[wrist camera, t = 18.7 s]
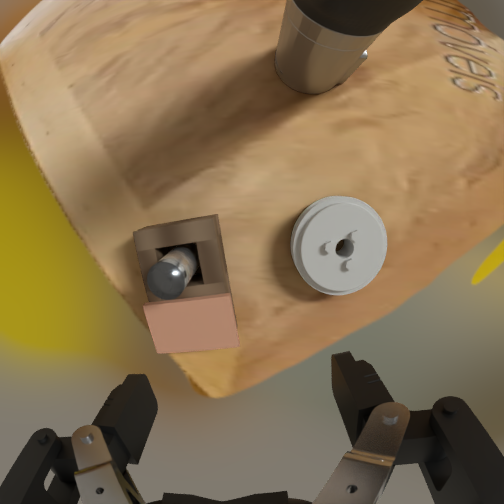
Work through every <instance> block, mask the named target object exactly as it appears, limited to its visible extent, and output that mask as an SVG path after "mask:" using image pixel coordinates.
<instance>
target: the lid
mask: <svg viewBox="0 0 504 504" xmlns="http://www.w3.org/2000/svg"><path fill="white" fill-rule="evenodd" d="M342 239H344V245H343V247H342V248H341V249H340V250H339V251H335V249H336V245H337V243H338V242H339V241H340V240H342ZM386 251H387V235H386V230H385V227H384V224H383V222H382V220H381V218H380V217H379V215H378V214H377V212H376V211H375V210H374V209H373V208H372V207H370V206H369V205H368V204H366V203H365V202H363V201H361V200H358V199H356V198H352V197H344V196H330V197H326V198H322V199H320V200H318V201H316V202H314V203H313V204H311V205H310V206H308V207H307V208H306V209H305V210H304V211H303V212H302V214H301V215H300V216H299V218H298V219H297V221H296V223H295V225H294V228H293V231H292V235H291V255H292V258H293V261H294V264H295V266H296V268H297V269H298V271H299V273H300V275H301V276H302V278H303V279H304V280H305V281H306V282H307V283H308V284H309V285H310V286H311V287H313V288H314V289H316V290H318V291H320V292H322V293H325V294H330V295H345V294H350V293H353V292H355V291H358V290H360V289H361V288H363V287H364V286H366V285H367V284H368V283H370V282H371V281H372V280H373V279H374V277H375V276H376V275H377V274H378V272H379V270H380V269H381V267H382V265H383V262H384V260H385V256H386Z"/></svg>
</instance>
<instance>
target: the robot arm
mask: <svg viewBox="0 0 504 504" xmlns="http://www.w3.org/2000/svg"><path fill="white" fill-rule="evenodd" d="M421 1H423V0H287V1H286V6H285V11H284V16H283V20H282V25H281V30H280V35H279V40H278V45H277V49H276V54H275V68H276V71H277V73H278V75H279V77H280V78H281V80H282V81H283V82H284V83H285V84H287V85H288V86H289V87H290V88H292V89H294V90H296V91H299V92H302V93H307V94H319V93H323V92H326V91H328V90H330V89H331V88H332V87H333V86H335V85H336V84H339V83H344V82H345V81H346V80H347V79H348V78H349V77H350V76H351V75H352V74H353V73H354V71H355V70H356V69H357V68H358V67H359V66H360V65H361V64H362V63H363V62H364V61H365V60H366V59H367V57H368V55H367V51H366V50H367V48H368V47H369V46H370V45H371V44H372V43H373V42H374V41H375V39H376V38H377V37H378V36H379V35H380V34H381V33H382V32H383V31H384V30H385V29H386V28H387V27H388V26H389V25H390V24H391V23H392V22H394V21H395V20H397V19H398V18H400V17H402V16H403V15H405V14H406V13H408V12H409V11H411V10H412V9H413V8H415V7H416V6H417V5H418V4H419V3H420V2H421ZM331 358H332V359H331V364H332V365H331V366H332V390H333V395H334V398H335V400H336V403H337V406H338V408H339V411H340V414H341V416H342V419H343V422H344V425H345V428H346V430H347V433H348V436H349V438H350V441H351V444H352V447H353V449H352V450H351V452H346V453H345V455H344V456H343V458H342V459H341V461H340V463H339V464H338V466H337V467H336V469H335V470H334V472H333V474H332V475H331V477H330V478H329V480H328V481H327V483H326V484H325V486H324V487H323V489H322V490H321V491H320V493H319V494H318V496H317V497H316V499H315V500H314V501H313V503H312V502H309V501H305V500H300V499H292V498H288V494H287V491H282V492H273V493H263V494H254V495H250V496H246V497H242V498H237V499H233V500H228V501H216V500H212V499H208V498H203V497H199V496H195V495H187V494H174V493H164V494H163V499H162V500H159V501H154V502H150V503H147V504H378V502H379V500H380V498H381V496H382V494H383V492H384V490H385V487H386V485H387V483H388V481H389V479H390V476H391V474H392V472H393V469H394V467H395V465H402V464H413V463H418V464H419V467H420V469H421V471H422V473H423V476H424V478H425V481H426V483H427V485H428V488H429V490H430V493H431V495H432V498H433V500H434V503H435V504H504V456H503V455H502V453H501V452H500V450H499V449H498V447H497V446H496V444H495V443H494V442H493V440H492V439H491V437H490V436H489V434H488V433H487V431H486V430H485V429H484V427H483V426H482V424H481V423H480V421H479V420H478V419H477V417H476V416H475V415H474V413H473V412H472V411H471V409H470V408H469V406H468V405H467V404H466V403H465V402H464V401H463V400H462V399H460V398H458V397H453V396H448V397H444V398H441V399H439V400H438V401H436V402H435V404H434V405H433V408H432V409H431V410H421V411H409V410H408V408H407V407H406V406H404V405H403V404H400V403H396V402H394V400H393V398H392V397H391V395H390V394H389V392H388V390H387V389H386V387H385V385H384V384H383V382H382V381H381V380H380V377H379V376H378V374H377V373H376V371H375V369H374V368H373V366H372V365H371V364H369V363H367V362H366V361H364V360H360V361H355V360H354V358H353V356H352V355H351V353H350V351H347V352H343V353H338V354H333V355H332V357H331ZM157 410H158V405H157V400H156V398H155V395H154V393H153V390H152V388H151V385H150V383H149V380H148V378H147V376H146V375H145V374H129V375H128V376H127V377H126V379H125V381H124V382H123V384H122V385H119V386H117V387H116V388H115V389H114V390H113V391H111V393H110V395H109V396H108V399H107V400H106V401H105V403H104V406H102V408H101V409H100V411H99V413H98V415H97V416H96V418H95V419H94V421H93V423H92V425H85V426H82V427H80V428H78V429H77V430H76V431H75V432H74V433H73V434H72V437H58V436H57V435H56V433H55V432H54V431H53V430H52V429H49V428H43V429H40V430H38V431H36V432H35V433H34V434H33V435H32V436H31V438H30V439H29V441H28V443H27V444H26V445H25V447H24V449H23V450H22V452H21V453H20V455H19V456H18V458H17V460H16V461H15V463H14V464H13V466H12V468H11V469H10V471H9V473H8V474H7V476H6V478H5V480H4V481H3V483H2V485H1V486H0V504H77V503H78V501H79V498H80V496H81V499H82V503H83V504H146V503H145V501H144V500H143V498H142V496H141V494H140V493H139V491H138V489H137V487H136V485H135V483H134V481H133V480H132V478H131V476H130V474H129V472H128V470H127V469H126V466H127V464H128V463H130V464H138V463H139V460H140V458H141V455H142V452H143V449H144V447H145V444H146V441H147V438H148V436H149V433H150V430H151V428H152V425H153V422H154V420H155V417H156V414H157ZM50 469H51V470H52V471H53V473H54V474H55V476H54V478H53V480H52V482H51V484H50V486H49V488H48V490H47V491H46V490H45V488H44V480H45V478H46V476H47V474H48V472H49V471H50Z"/></svg>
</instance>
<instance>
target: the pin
mask: <svg viewBox="0 0 504 504" xmlns="http://www.w3.org/2000/svg"><path fill="white" fill-rule="evenodd" d="M199 265H200V260H199V255H198V250H197V245H196V244H195V243H193V242H192V243H186V244H180V245H177V246H176V247H175V248H174V249H172V250H171V251H170V252H169V253H168V254H166V255H165V256H164V257H163V258H162V259H160V260H159V261H158V262H157V263H156V264H154V265H153V266H152V267H151V268H150V270H149V272H148V274H147V284H148V287H149V289H150V290H151V292H152V293H153V294H154V295H155V296H157V297H158V298H160V299H163V300H172V299H175V298H177V297H179V296H180V295H181V293H182V292H183V290H184V289H185V287H186V286H187V284H188V282H189V281H190V279H191V278H192V276H193V275H194V273H195V271H196V270H197V268H198V267H199Z"/></svg>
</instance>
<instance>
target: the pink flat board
mask: <svg viewBox="0 0 504 504" xmlns="http://www.w3.org/2000/svg"><path fill="white" fill-rule="evenodd" d="M143 309H144V312H145V316H146V319H147V322H148V326H149V329H150V332H151V335H152V338H153V342H154V345H155V348H156V351H157V353H158V354H160V353H177V352H191V351H203V350H214V349H224V348H233V347H240V342H239V336H238V331H237V326H236V321H235V316H234V311H233V305H232V300H231V295H230V293H224V294H217V295H209V296H201V297H193V298H184V299H176V300H167V301H158V302H148V303H145V304H144V305H143Z"/></svg>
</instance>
